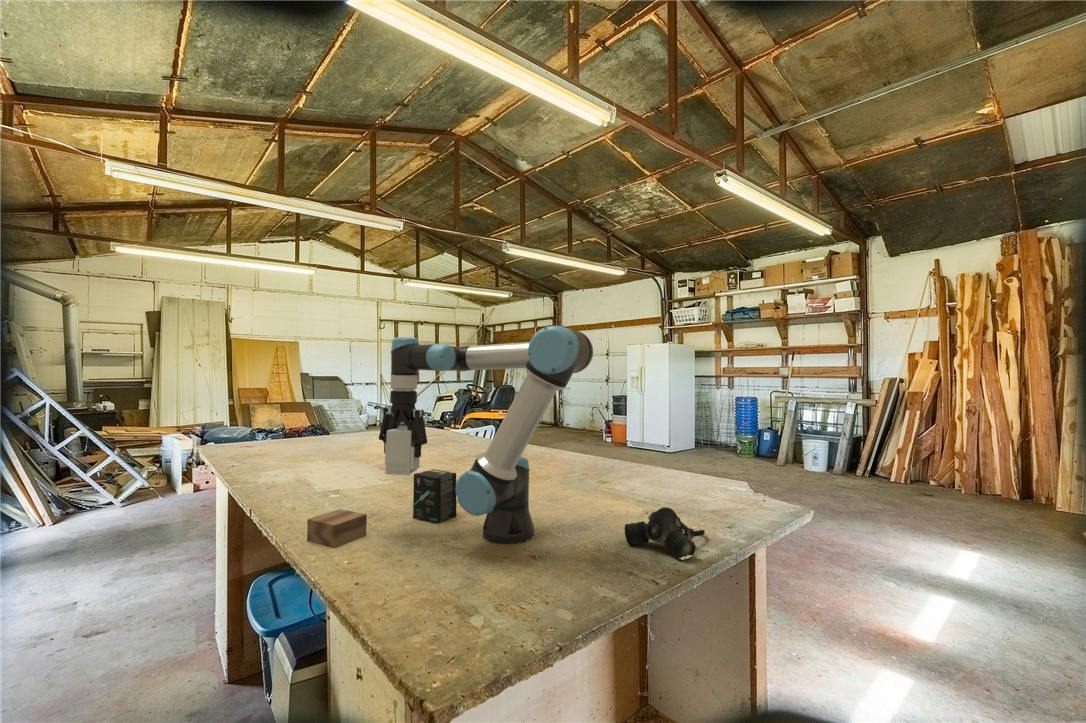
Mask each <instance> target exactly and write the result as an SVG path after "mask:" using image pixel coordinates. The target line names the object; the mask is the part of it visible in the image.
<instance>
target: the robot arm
mask: <svg viewBox="0 0 1086 723" xmlns="http://www.w3.org/2000/svg"><path fill="white" fill-rule="evenodd" d="M390 354H391V355H390V356H391V357H390V358H391V359H390V363H391V364H390V369H391V370H390V371H391V372H390V389H391V391H390V393H389V394H390V395H389V396H390V397H389V402H390V403H391V407H384V408H383V410H382V411H383V412H382V413H383V414H382V415H383V418H382V421H381V425H380V429H379V434H378V440H380V441H382V442H383V444H384V445H383V453H384V466H386V439H387V431H388V430H391V429H395V428H399V427H400V424H401V423H404V425H405V426H406V428H408V430H409V431H412V442H413V445H412V446H411V469H412V470H413V469H417V470H418V469H420V458H421V457H422V446H423V445H426V444H428V436H427V431H426V426H425V419H424V414H425V411H424V409H416V404H417V402H418V392H417V389H418V373H419V372H418V371H436V372H445V371H448V372H450V371H452V372H453V371H454V372H469V371H483V370H484V371H487V370H511V369H512V370H513V369H515V370H516V369H525V372H526V377H524V379H523V382H522V383H521V386H520V388H519V389H518V391H517V393H516V395H515V397H514V399H513V400H512V403H511V405H510V407H509V408H508V411H507V412H506V414H505V415H504V418H503V420H502V422H500V426H499V427H498V429H497V431H496V433H495V435H494V437H493V438H492V440H491V442H490V444H489V446H488V448H487V450H486V451H484V452H481V453H479V454H478V455H477V456H476V458H475V460H474V462H473V465H472V466H471V468H470V469H469V470H468V471H464V473H462V474H461V475H460V476H459V477H458V479H456V499H457V502H458V504H459V506H460V507H461V508H462V509H463V510H464V511H465V512H466V513H468V514H470V515H472V516H475V517H476V516H477V517H479V516H483V515H485V516H486V517H485V520H484V522H483V526H482V538H483V540H486V541H487V542H490V543H494V544H501V545H507V544H508V545H513V544H521V543H525V542H527V540H528V541H530V540H532V539H533V538H534V537H535V526H534V522H533V518H532V516H531V512H530V509H529V508H530V507H529V506H530V505H529V499H530V498H529V497H530V494H529V493H530V487H529V486H530V466H529V465H530V464H529V459H528V458H527V457H525V456H524V457H523V453H524V451H525V450H526V448H527V446H528V444H529V442H530V440H531V439H532V437H533V435H534V434H535V431H536V430H537V427H538V426H539V424H540V422H541V421H542V418H543V416H544V415H545V413H546V411H547V409H548V407H549V405H550V404H551V402H552V400H553V398H554V396H555V394H556V392H557V391H559V390H560V391H561V390H563V389H566V387H567V385H568V383H569V382H570V380H571V378H572V377H573V374H578V373H580V372H582V371H584V370H585V369H587V368H588V367H589V365H590V364H591V362H592V360H593V357H594V347H593V344H592V342H591V340H590V339H589V337H588V336H587V335H586V334H584V332H581V331H578V330H575V329H571V328H567V327H565V326H561V325H550V326H546V327H543V328H540V329H539V330H538V331H536V333H534V334H533V336H532V337H531V339H530V341H526V342H525V341H524V342H511V343H496V344H494V343H493V344H481V345H480V344H479V345H466V346H463V345H462V346H456V345H455V346H454V345H453V346H451V345H449V344H445V343H431V344H430V343H429V344H425V343H424V344H420V343H419V340H418V338H416V337H409V336H407V337H406V336H405V337H401V336H398V337H397V336H396V337H394V338H393V339H392V341H391V350H390ZM533 536H534V537H533ZM532 537H533V538H532ZM531 538H532V539H531Z"/></svg>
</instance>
